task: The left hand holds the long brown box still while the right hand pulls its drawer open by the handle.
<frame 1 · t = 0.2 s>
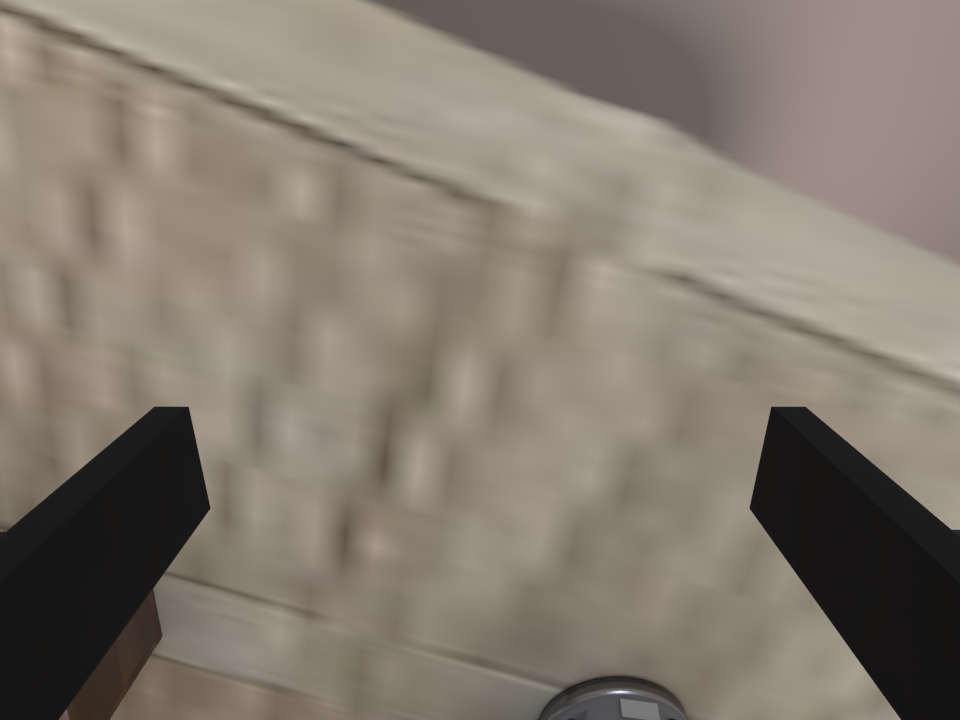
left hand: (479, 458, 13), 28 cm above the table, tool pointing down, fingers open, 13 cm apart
long brown box: (55, 589, 50), on the table
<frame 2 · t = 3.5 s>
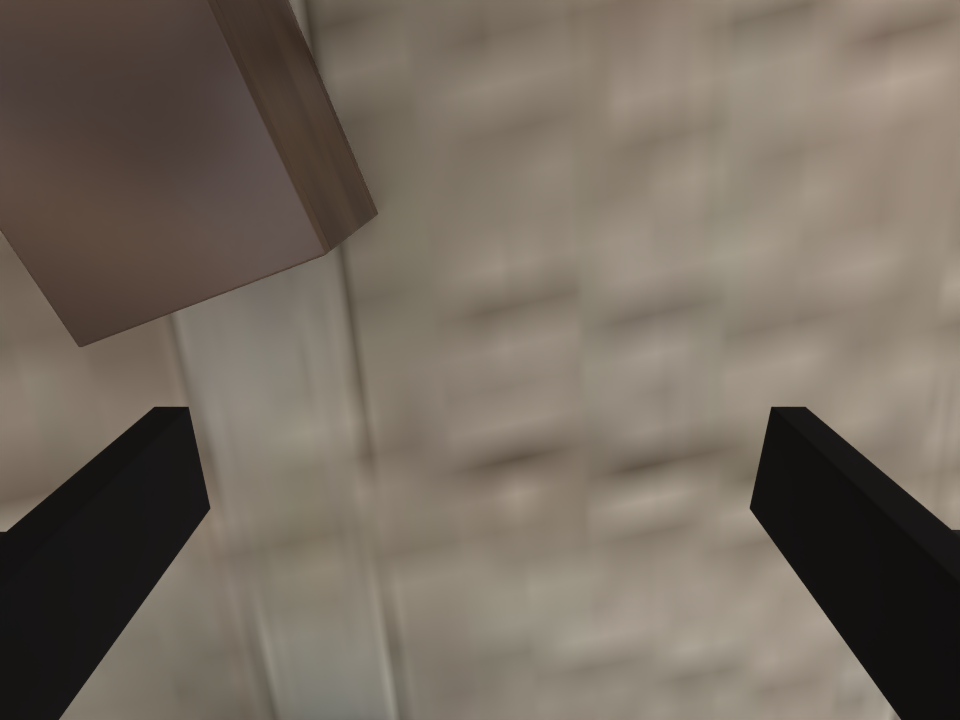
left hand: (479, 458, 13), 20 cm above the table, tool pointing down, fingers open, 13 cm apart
long brown box: (213, 84, 28), on the table
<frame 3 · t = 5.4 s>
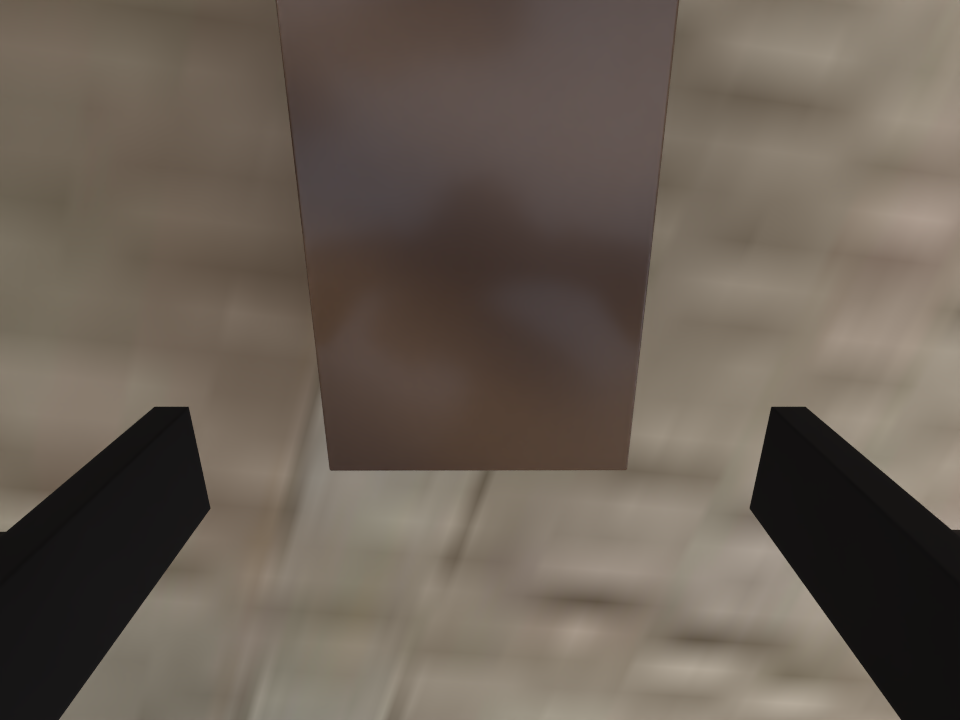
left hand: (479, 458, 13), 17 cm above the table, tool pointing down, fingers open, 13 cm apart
long brown box: (478, 185, 27), on the table
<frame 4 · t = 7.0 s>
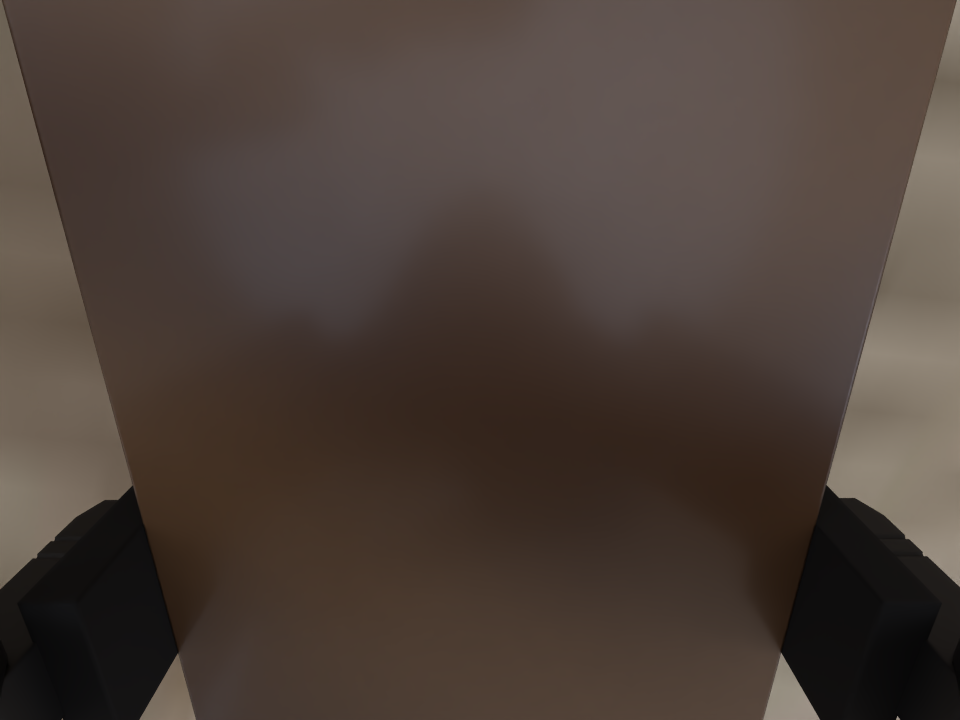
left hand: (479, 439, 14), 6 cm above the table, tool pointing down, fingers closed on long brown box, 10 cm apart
long brown box: (479, 209, 18), on the table, touching left hand
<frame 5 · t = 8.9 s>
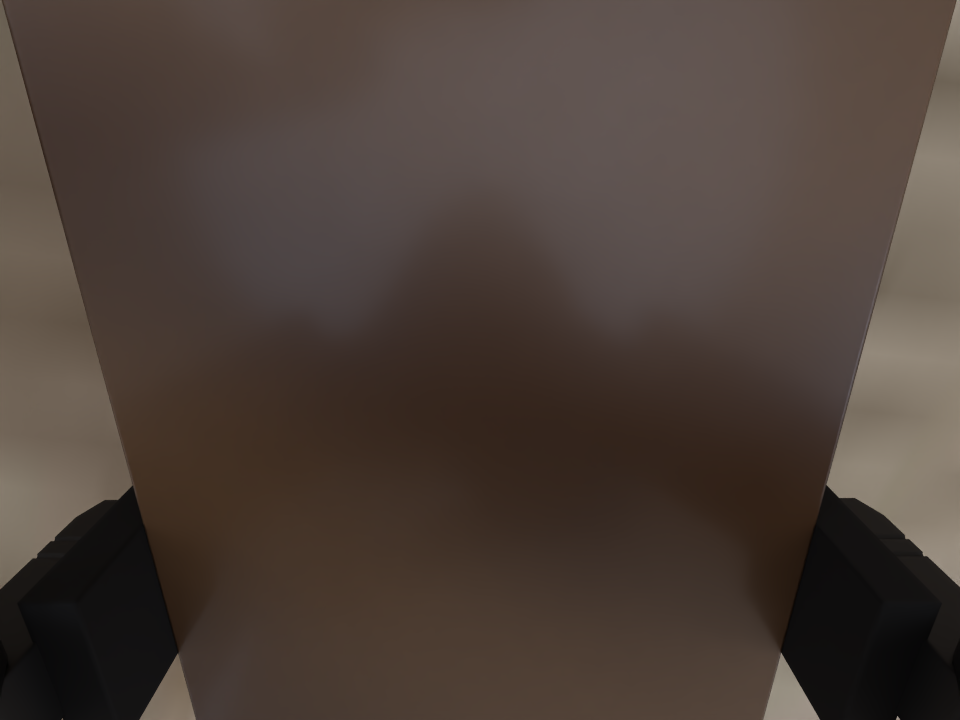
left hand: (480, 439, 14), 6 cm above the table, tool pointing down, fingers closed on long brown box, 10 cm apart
long brown box: (479, 209, 18), on the table, touching left hand
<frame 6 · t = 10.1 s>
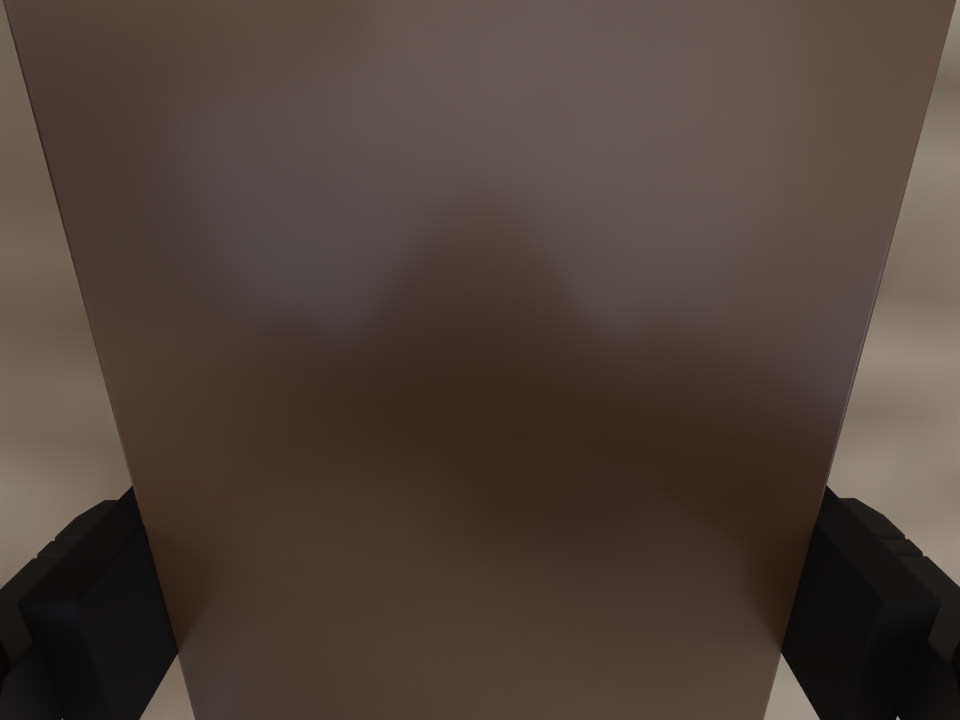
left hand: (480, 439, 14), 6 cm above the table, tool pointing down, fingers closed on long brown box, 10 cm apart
long brown box: (479, 209, 18), on the table, touching left hand
when the left hand's fingers open (6 cm above the table, at t = 12.2 s): long brown box stays where it is, on the table.
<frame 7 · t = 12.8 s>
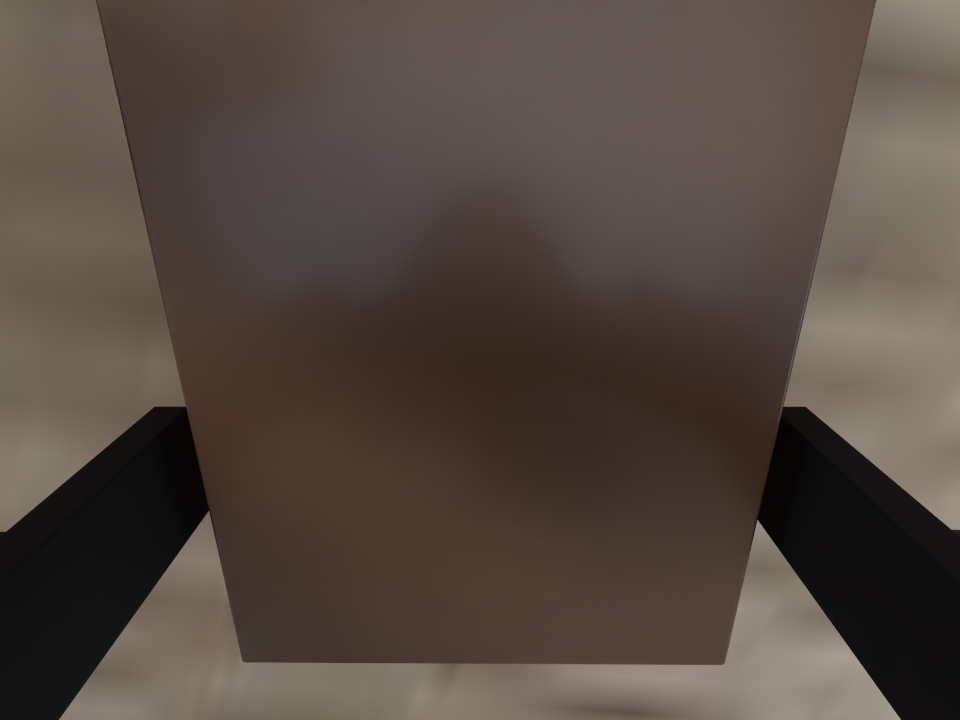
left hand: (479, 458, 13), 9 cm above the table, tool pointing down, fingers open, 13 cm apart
long brown box: (483, 192, 19), on the table
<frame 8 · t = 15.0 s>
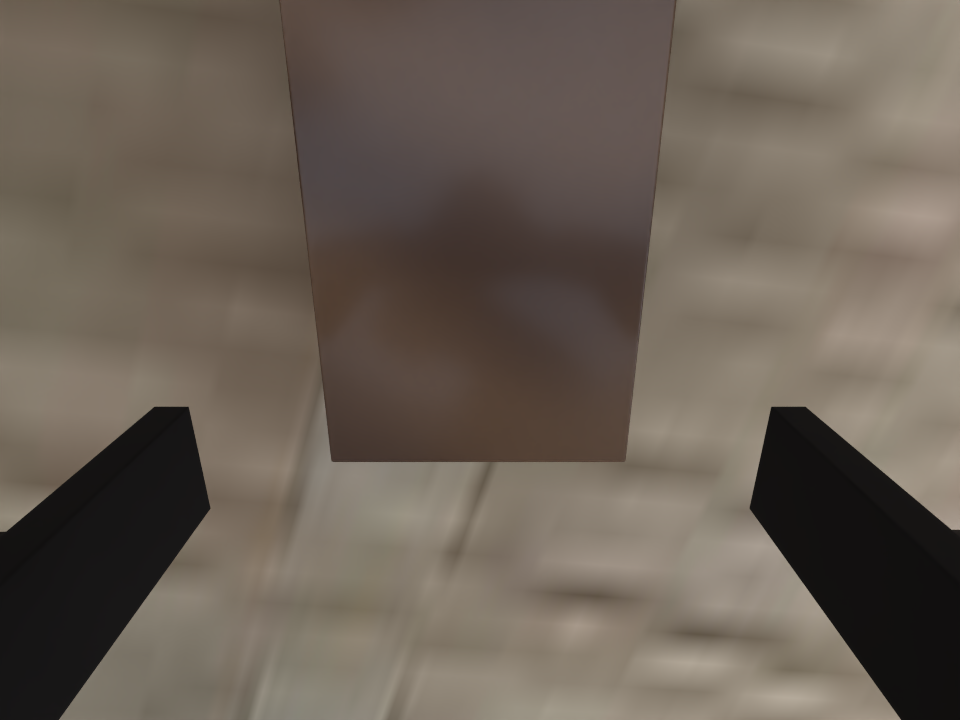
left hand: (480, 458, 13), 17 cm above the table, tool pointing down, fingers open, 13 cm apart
long brown box: (478, 181, 27), on the table
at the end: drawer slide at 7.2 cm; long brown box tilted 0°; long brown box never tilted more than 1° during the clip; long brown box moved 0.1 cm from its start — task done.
